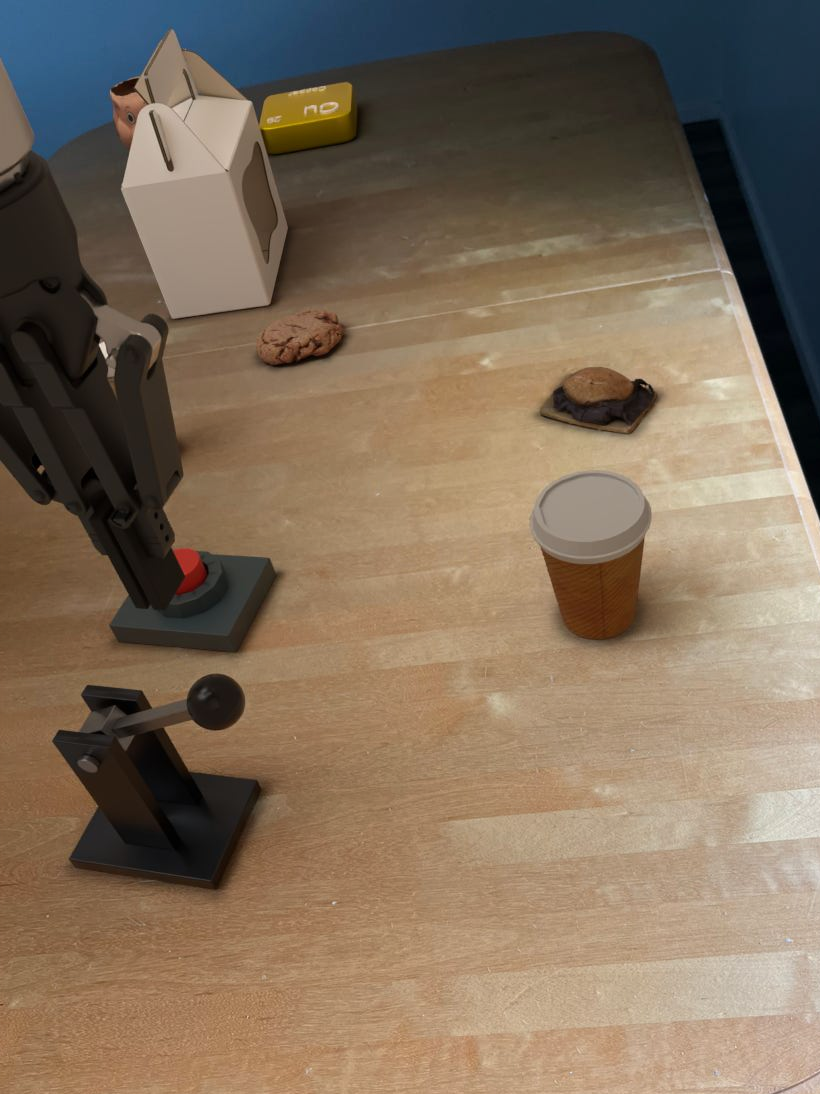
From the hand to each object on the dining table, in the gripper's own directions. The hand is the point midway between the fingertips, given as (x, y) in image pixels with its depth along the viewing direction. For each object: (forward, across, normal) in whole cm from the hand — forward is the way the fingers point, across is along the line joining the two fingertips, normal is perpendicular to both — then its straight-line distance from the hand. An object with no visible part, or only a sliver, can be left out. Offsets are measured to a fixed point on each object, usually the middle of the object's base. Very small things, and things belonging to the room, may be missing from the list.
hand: (160, 592), depth 60 cm
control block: (+26, +18, -23) cm, 39 cm away
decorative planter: (+27, +66, -118) cm, 138 cm away
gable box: (+27, +41, -85) cm, 98 cm away
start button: (+23, +18, -23) cm, 37 cm away
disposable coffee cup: (+27, -19, -26) cm, 42 cm away
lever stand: (+26, +10, 0) cm, 28 cm away
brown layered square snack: (+27, -14, -56) cm, 64 cm away
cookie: (+27, +24, -67) cm, 76 cm away
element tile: (+27, +46, -131) cm, 141 cm away
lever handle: (+14, +4, 0) cm, 14 cm away
